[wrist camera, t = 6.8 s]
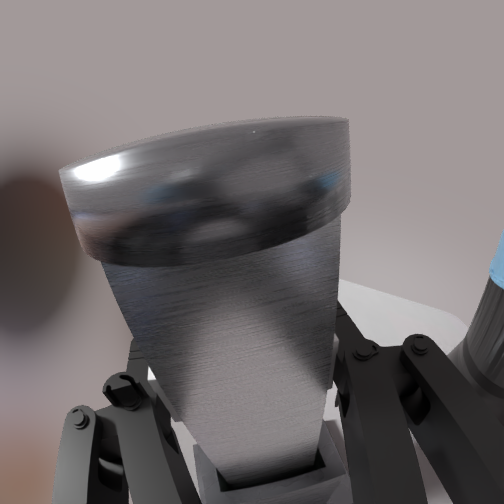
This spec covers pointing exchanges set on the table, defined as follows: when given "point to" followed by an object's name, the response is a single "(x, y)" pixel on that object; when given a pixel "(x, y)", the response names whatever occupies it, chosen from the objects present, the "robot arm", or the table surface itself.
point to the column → (227, 276)
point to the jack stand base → (286, 491)
